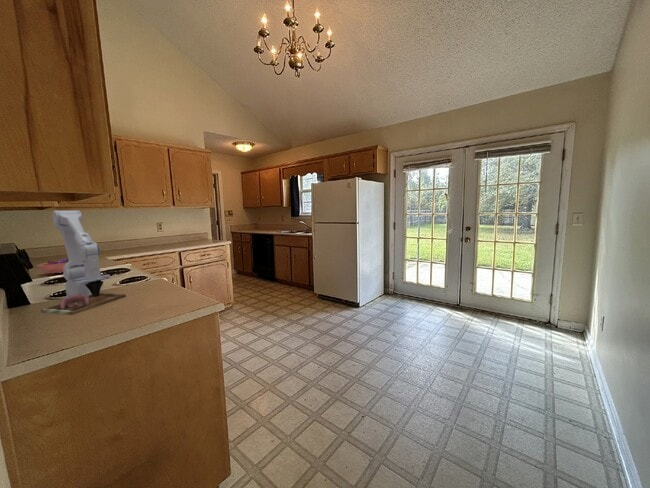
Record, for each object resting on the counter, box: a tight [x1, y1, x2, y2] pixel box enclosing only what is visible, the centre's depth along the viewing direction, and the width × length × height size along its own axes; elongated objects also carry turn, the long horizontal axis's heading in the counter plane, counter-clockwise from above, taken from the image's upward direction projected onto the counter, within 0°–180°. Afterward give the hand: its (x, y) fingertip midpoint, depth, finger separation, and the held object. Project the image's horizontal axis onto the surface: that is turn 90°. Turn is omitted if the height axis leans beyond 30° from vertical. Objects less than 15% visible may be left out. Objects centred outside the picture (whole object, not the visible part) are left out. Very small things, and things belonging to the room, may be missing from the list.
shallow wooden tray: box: [40, 292, 127, 316], centre depth 128 cm, size 18×24×1 cm
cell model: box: [36, 257, 72, 275], centre depth 197 cm, size 17×20×11 cm
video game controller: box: [59, 294, 91, 310], centre depth 124 cm, size 10×5×7 cm, turn 128°
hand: (96, 296), depth 133 cm, fingers closed
